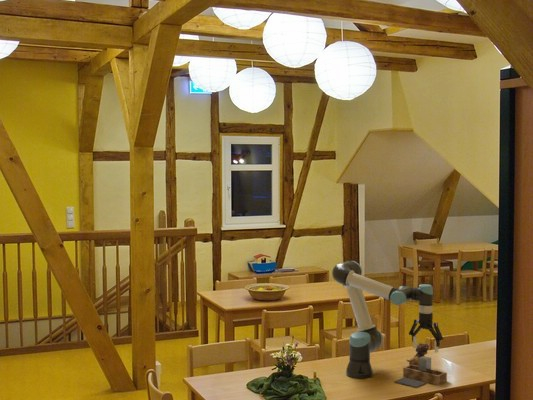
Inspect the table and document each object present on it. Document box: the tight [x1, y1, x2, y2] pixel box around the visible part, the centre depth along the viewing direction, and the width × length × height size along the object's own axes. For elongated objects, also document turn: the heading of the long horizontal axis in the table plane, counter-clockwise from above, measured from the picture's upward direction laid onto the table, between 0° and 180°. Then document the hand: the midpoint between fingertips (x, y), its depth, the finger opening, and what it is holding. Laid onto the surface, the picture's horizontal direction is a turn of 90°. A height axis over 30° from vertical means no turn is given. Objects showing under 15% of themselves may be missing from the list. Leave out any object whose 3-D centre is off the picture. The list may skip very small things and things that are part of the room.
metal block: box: [419, 355, 432, 373], centre depth 384 cm, size 5×5×12 cm
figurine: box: [406, 342, 430, 366], centre depth 400 cm, size 7×22×15 cm, turn 137°
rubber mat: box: [393, 376, 427, 389], centre depth 377 cm, size 14×10×1 cm
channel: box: [402, 364, 448, 386], centre depth 384 cm, size 22×9×5 cm, turn 47°
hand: (425, 350), depth 383 cm, fingers open, 13 cm apart
